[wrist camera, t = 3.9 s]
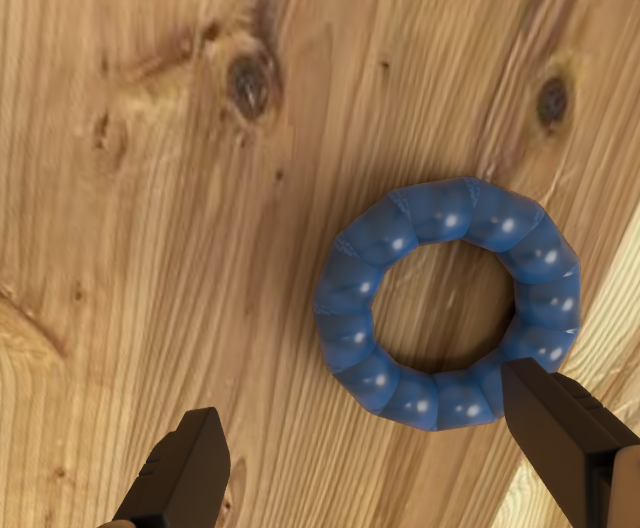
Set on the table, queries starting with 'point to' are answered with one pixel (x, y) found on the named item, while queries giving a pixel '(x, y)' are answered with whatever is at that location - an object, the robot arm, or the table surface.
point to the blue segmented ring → (429, 228)
